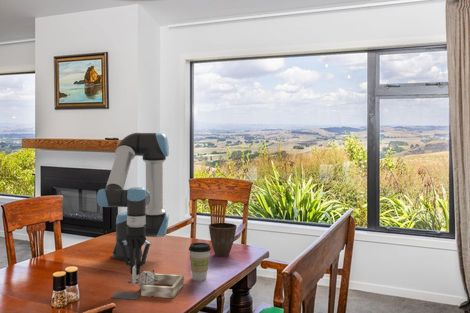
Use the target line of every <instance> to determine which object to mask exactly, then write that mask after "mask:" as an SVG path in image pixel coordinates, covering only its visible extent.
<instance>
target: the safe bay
mask: <svg viewBox="0 0 470 313" xmlns="http://www.w3.org/2000/svg"><path fill="white" fill-rule="evenodd" d="M153 273H154V272H153ZM154 276H155V279H156V280H157V281H156V282H155V284H157V285H155V284H154V286H153V285H142V286H141V290H140V293H141V295H140V297H151V296H154V298H155V297H156V298H168V299H174V298H176V296H177V294H178V293H179V292H180V290H181V289H182V288H183V286H184V285H185V284H184V283H185V276H184V275H182V274H170V273H169V274H168V273H156V272H155V273H154ZM166 285H170V286H166Z"/></svg>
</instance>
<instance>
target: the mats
mask: <svg viewBox="0 0 470 313" xmlns="http://www.w3.org/2000/svg"><path fill="white" fill-rule="evenodd" d="M138 278H139V276H138ZM128 283H132V278H131V279H130V280H128ZM135 284H139V283H138V282H136V283H135ZM139 297H141V292H129V291H128V292H126V291H125V292H124V291H116V292H115V293H114V294H113V295H112V296H111V297H110V298H111V299H121V300H134V301H136V300H138V299H139Z"/></svg>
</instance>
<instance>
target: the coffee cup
mask: <svg viewBox="0 0 470 313" xmlns="http://www.w3.org/2000/svg"><path fill="white" fill-rule="evenodd" d="M211 247H212V246H210V244H209V243H207V242H194V243H191V244H190V245H189V247H188V251H189V259H190V270H191V277H192V278H191V279H192V280H194V281H205V280H206V279H207V275H208V270H209V264H210V253H211V250H212V249H211Z"/></svg>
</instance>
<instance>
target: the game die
mask: <svg viewBox="0 0 470 313" xmlns="http://www.w3.org/2000/svg"><path fill="white" fill-rule="evenodd" d="M154 272H155V269H153V270H143V269H141V268H140V274H139V275H138V277H139V278H138V279H136V280H137V281H138V283H137V284H138V287H139V291H140V292H141V286H142V285H153V286H155V282H156V281H157V280H156V279H155V276H154Z"/></svg>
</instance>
